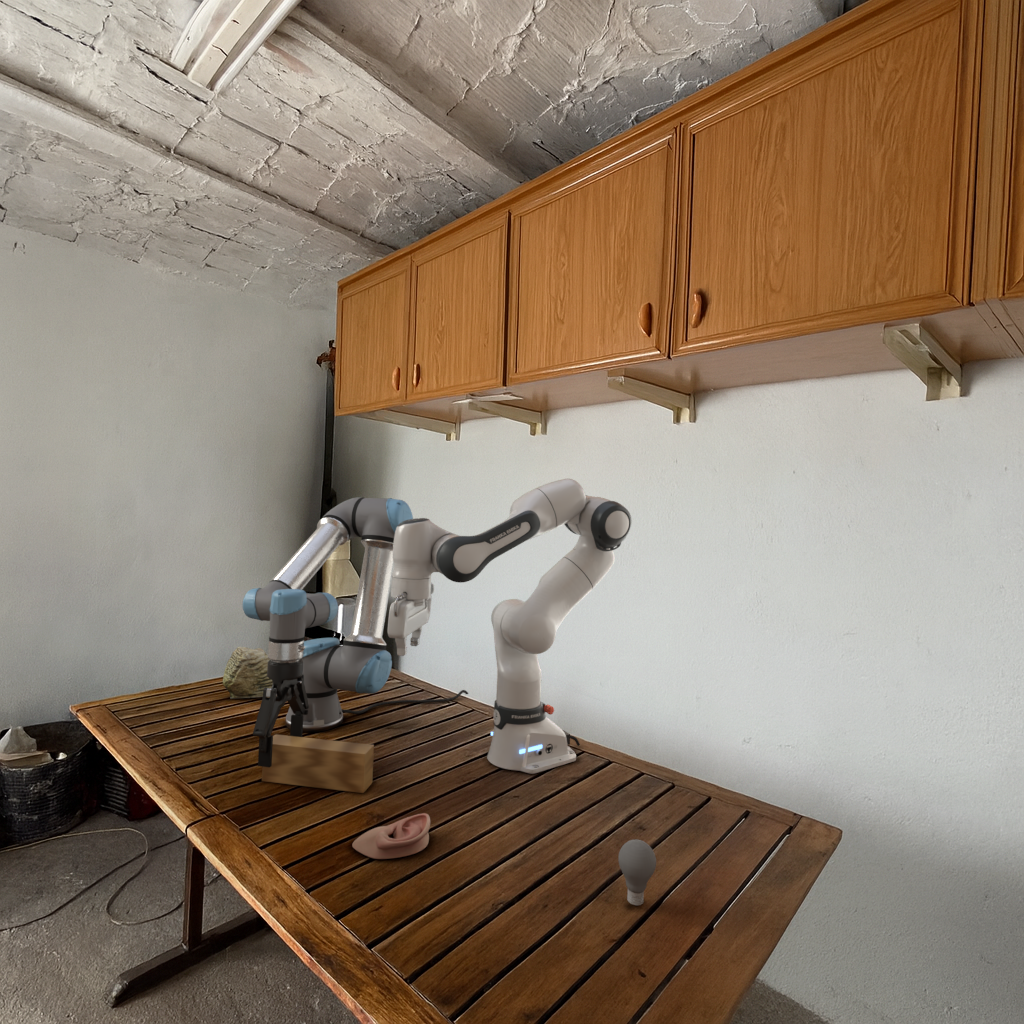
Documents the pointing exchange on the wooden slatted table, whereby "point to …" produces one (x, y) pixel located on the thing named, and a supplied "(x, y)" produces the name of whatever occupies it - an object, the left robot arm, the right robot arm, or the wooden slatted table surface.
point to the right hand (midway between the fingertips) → (408, 650)
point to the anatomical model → (395, 838)
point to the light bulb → (636, 868)
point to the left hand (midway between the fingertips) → (281, 754)
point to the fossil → (247, 673)
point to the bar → (320, 763)
